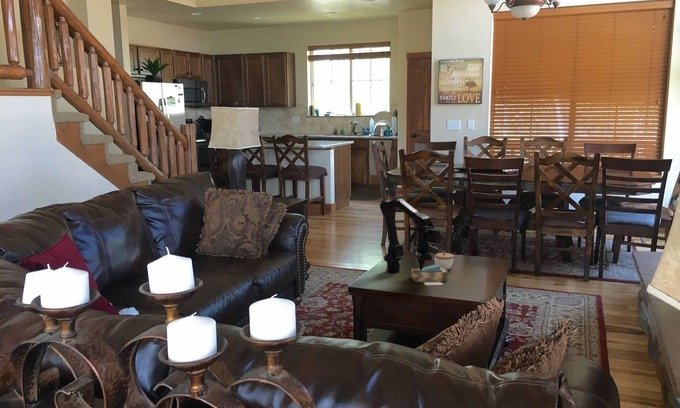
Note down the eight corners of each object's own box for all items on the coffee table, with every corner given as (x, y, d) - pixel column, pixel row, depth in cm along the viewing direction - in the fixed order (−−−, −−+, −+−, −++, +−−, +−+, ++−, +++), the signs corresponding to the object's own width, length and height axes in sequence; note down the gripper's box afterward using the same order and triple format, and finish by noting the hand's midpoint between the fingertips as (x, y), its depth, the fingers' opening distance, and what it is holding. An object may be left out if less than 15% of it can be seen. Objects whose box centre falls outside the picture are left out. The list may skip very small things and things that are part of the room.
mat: (425, 285, 284) (425, 284, 284) (423, 282, 289) (423, 282, 289) (443, 285, 285) (443, 284, 285) (440, 282, 290) (440, 281, 290)
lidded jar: (453, 271, 310) (453, 255, 309) (433, 270, 312) (434, 253, 311) (453, 266, 321) (454, 250, 319) (434, 265, 323) (434, 249, 321)
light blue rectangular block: (422, 278, 292) (421, 270, 292) (420, 275, 297) (418, 268, 296) (441, 273, 293) (439, 266, 292) (438, 271, 297) (437, 263, 297)
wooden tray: (415, 281, 290) (415, 272, 289) (411, 277, 298) (411, 268, 298) (447, 281, 292) (447, 271, 291) (442, 276, 300) (443, 267, 299)
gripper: (442, 244, 283) (440, 274, 286) (432, 236, 302) (431, 264, 304) (421, 244, 282) (419, 274, 284) (412, 236, 300) (410, 264, 303)
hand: (420, 269), depth 294 cm, fingers closed, pressing on light blue rectangular block
